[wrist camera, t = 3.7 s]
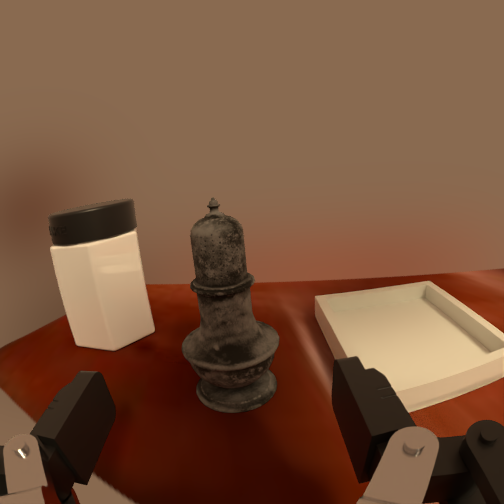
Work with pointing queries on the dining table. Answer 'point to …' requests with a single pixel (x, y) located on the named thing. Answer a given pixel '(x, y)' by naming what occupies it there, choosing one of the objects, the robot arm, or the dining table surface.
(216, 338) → the salt shaker
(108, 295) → the jar
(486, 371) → the tray
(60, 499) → the robot arm
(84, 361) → the dining table surface
